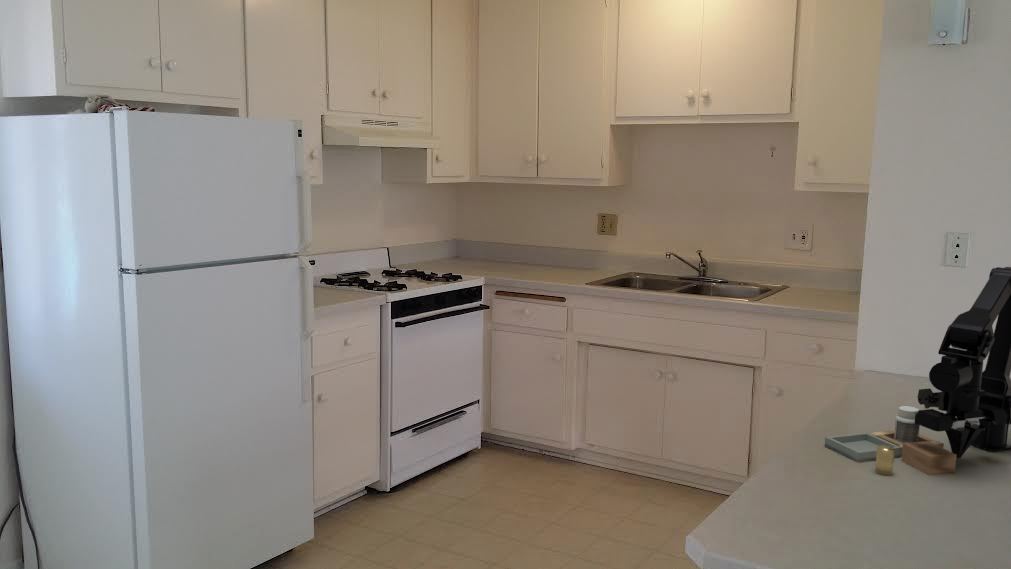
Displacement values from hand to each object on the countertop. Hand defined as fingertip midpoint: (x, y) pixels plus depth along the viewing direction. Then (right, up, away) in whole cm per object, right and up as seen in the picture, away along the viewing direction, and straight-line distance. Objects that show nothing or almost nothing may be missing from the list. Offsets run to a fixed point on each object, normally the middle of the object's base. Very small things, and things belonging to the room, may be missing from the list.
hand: (956, 457), depth 173 cm
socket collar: (-6, 0, +10) cm, 11 cm away
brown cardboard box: (-7, -2, -2) cm, 8 cm away
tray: (-17, 0, +6) cm, 18 cm away
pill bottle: (-6, 0, +10) cm, 11 cm away
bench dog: (-17, -2, -6) cm, 19 cm away
